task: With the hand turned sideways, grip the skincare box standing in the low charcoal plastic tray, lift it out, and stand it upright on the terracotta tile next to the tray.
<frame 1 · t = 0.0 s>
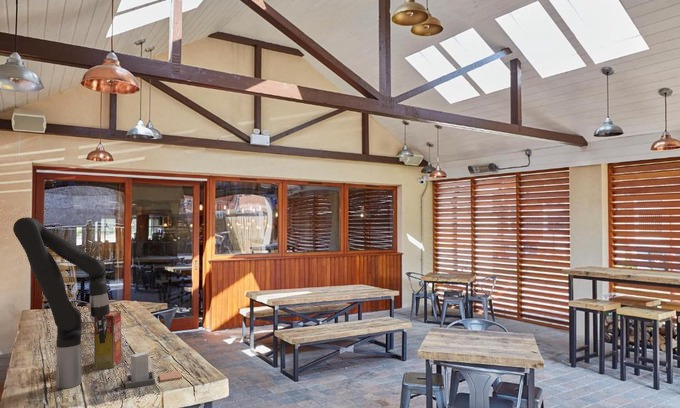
hand: (103, 340, 210), 17 cm above the table, tool pointing down, fingers open, 8 cm apart
tray: (140, 382, 205), on the table
tile: (170, 377, 210), on the table
food packaging: (108, 365, 232), on the table
skincare box: (140, 382, 205), resting in tray
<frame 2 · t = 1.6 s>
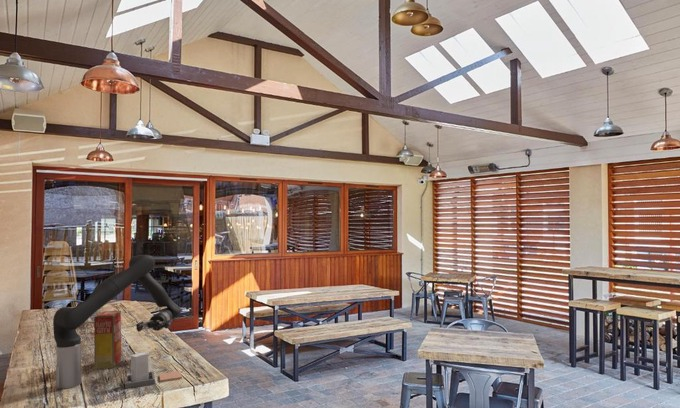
hand: (148, 329, 217), 20 cm above the table, tool horizontal, fingers open, 8 cm apart
nothing on the table moved.
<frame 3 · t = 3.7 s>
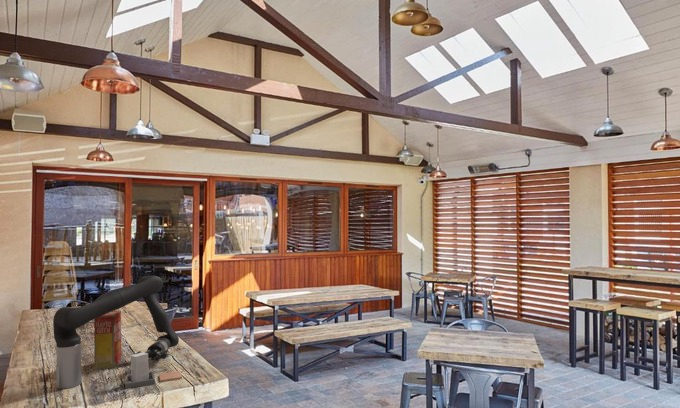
hand: (145, 359, 213), 7 cm above the table, tool horizontal, fingers open, 8 cm apart
nothing on the table moved.
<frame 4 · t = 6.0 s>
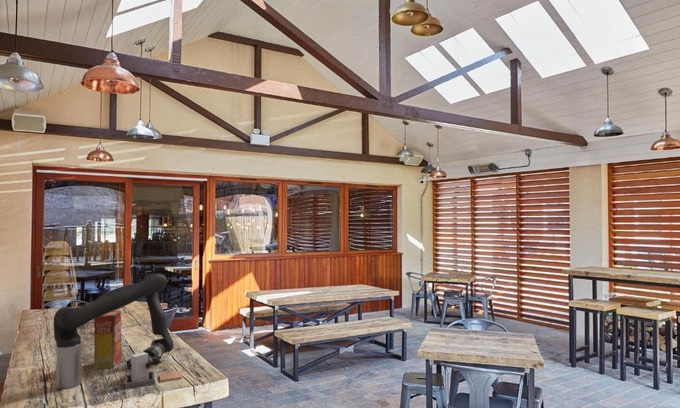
hand: (137, 366, 203), 7 cm above the table, tool horizontal, fingers closed on skincare box, 7 cm apart
skincare box: (140, 382, 205), resting in tray, touching gripper
everything else where it was.
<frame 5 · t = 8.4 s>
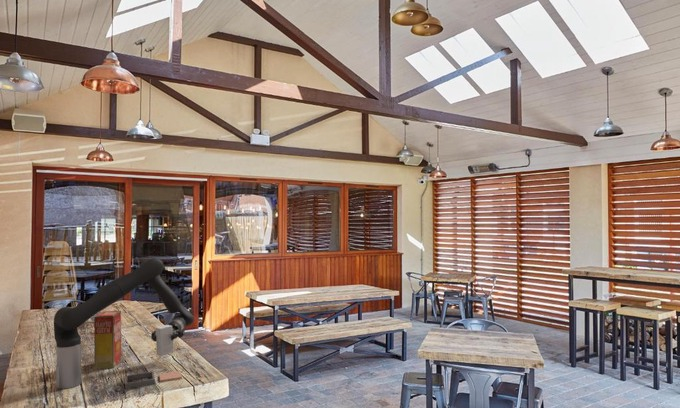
hand: (163, 338, 208), 18 cm above the table, tool horizontal, fingers closed on skincare box, 7 cm apart
skincare box: (165, 354, 210), point 10 cm above the table, touching gripper
everything else where it was.
when the fingers open (9 cm above the table, at t = 11.3 s): skincare box stays where it is, resting on tile.
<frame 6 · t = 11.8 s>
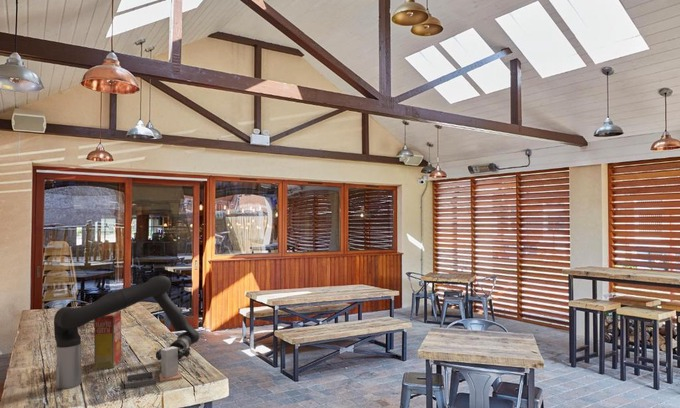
hand: (168, 357, 209), 9 cm above the table, tool horizontal, fingers open, 8 cm apart
skincare box: (169, 375, 211), point 1 cm above the table, touching tile
everything else where it was.
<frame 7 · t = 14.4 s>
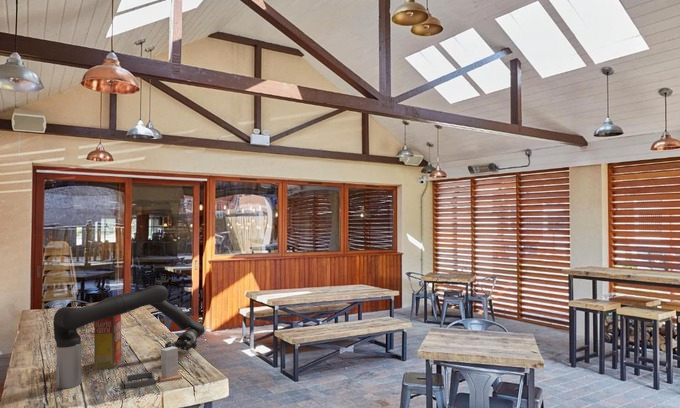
hand: (177, 349, 222), 9 cm above the table, tool horizontal, fingers open, 8 cm apart
nothing on the table moved.
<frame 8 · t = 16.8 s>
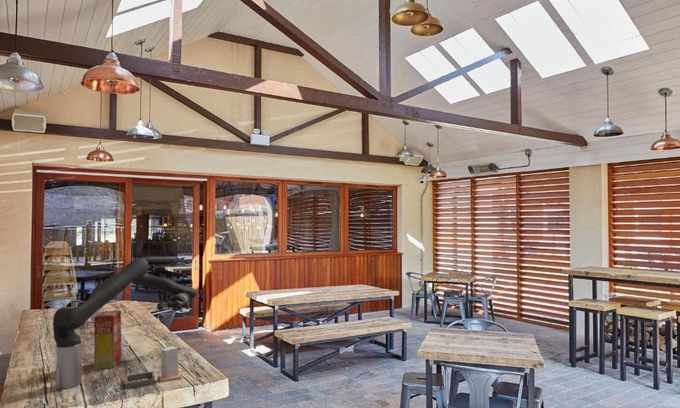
hand: (168, 308, 225), 28 cm above the table, tool horizontal, fingers open, 8 cm apart
nothing on the table moved.
at the end: skincare box 0.3 cm off-centre on the tile, point 0.6 cm above the tile's base; skincare box tilted 0°; the gripper is holding nothing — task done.
